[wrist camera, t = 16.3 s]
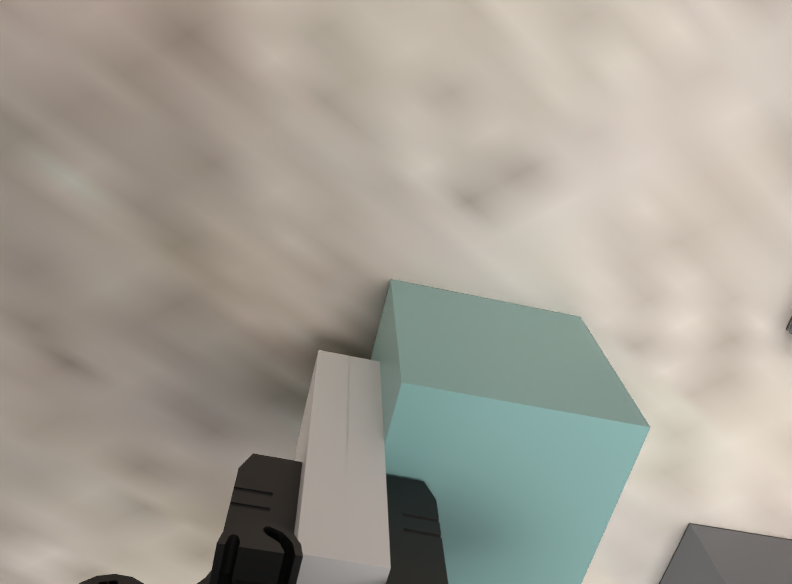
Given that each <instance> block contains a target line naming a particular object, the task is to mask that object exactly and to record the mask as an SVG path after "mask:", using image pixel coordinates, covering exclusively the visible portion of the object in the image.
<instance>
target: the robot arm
mask: <svg viewBox="0 0 792 584" xmlns="http://www.w3.org/2000/svg"><path fill="white" fill-rule="evenodd" d="M79 584H144V583H142V582H140V581H138V580H136V579H135V578H133V577H129V576H124V575H118V574H110V575H101V576H96V577H93V578H91V579H88V580H86V581H83V582H81V583H79ZM197 584H448V578H447V571H446V564H445V557H444V550H443V543H442V538H441V529H440V522H439V515H438V508H437V501H436V499H435V497H434V496H433V494H432V493H431V491H430V490H429V488H428V487H427V485H426V484H425V482H424V481H418V480H413V479H407V478H401V477H395V476H390V475H386V466H385V447H384V427H383V409H382V392H381V375H380V362H379V361H373V360H368V359H363V358H358V357H353V356H348V355H343V354H337V353H332V352H327V351H322V350H318V354H317V358H316V363H315V367H314V371H313V376H312V380H311V384H310V389H309V393H308V398H307V402H306V406H305V411H304V415H303V419H302V424H301V428H300V432H299V437H298V441H297V446H296V453H295V461H293V460H287V459H281V458H276V457H270V456H264V455H258V454H252V455H251V456H250V457H249V458H248V459H247V460H246V461H245V462H244V463H243V464H242V465H241V466H240V467H239V469H238V473H237V478H236V482H235V486H234V490H233V494H232V498H231V502H230V506H229V510H228V514H227V518H226V523H225V527H224V531H223V533H222V535H221V537H220V538H219V540H218V542H217V545H216V550H215V556H214V561H213V566H212V570H211V572H210V573H209V574H208V575H207V576H206V578H204V579H203V580H201V581H200V582H199V583H197Z"/></svg>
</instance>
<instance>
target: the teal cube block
mask: <svg viewBox="0 0 792 584" xmlns="http://www.w3.org/2000/svg"><path fill="white" fill-rule="evenodd" d="M371 360H373V361H379V362H380V375H381V392H382V409H383V427H384V447H385V466H386V475H390V476H395V477H401V478H407V479H413V480H418V481H424V482H425V484H426V485H427V487H428V488H429V490H430V491H431V493H432V494H433V496H434V497H435V499H436V501H437V508H438V515H439V522H440V529H441V538H442V543H443V550H444V557H445V564H446V571H447V578H448V584H581V583H582V581H583V578H584V576H585V574H586V572H587V569H588V567H589V565H590V563H591V560H592V558H593V556H594V554H595V551H596V549H597V547H598V545H599V542H600V540H601V538H602V536H603V533H604V531H605V529H606V526H607V524H608V522H609V520H610V517H611V515H612V513H613V511H614V508H615V506H616V504H617V502H618V499H619V497H620V495H621V493H622V490H623V488H624V486H625V484H626V481H627V479H628V477H629V474H630V472H631V470H632V468H633V465H634V463H635V461H636V459H637V456H638V454H639V452H640V450H641V447H642V445H643V443H644V441H645V438H646V436H647V434H648V432H649V429H650V426H649V424H648V423H647V421H646V420H645V418H644V417H643V415H642V413H641V412H640V410H639V409H638V407H637V406H636V404H635V402H634V401H633V399H632V398H631V396H630V394H629V393H628V391H627V390H626V388H625V387H624V385H623V383H622V382H621V380H620V379H619V377H618V375H617V374H616V372H615V371H614V369H613V368H612V366H611V364H610V363H609V361H608V360H607V358H606V357H605V355H604V353H603V352H602V350H601V349H600V347H599V345H598V344H597V342H596V341H595V339H594V338H593V336H592V334H591V333H590V331H589V330H588V328H587V326H586V325H585V323H584V322H583V320H582V319H581V317H578V316H573V315H568V314H563V313H558V312H553V311H548V310H543V309H538V308H533V307H528V306H523V305H518V304H513V303H508V302H503V301H498V300H493V299H488V298H483V297H478V296H473V295H468V294H463V293H458V292H453V291H448V290H443V289H438V288H433V287H428V286H423V285H418V284H413V283H407V282H402V281H397V280H392V279H391V281H390V285H389V289H388V293H387V297H386V301H385V305H384V308H383V312H382V316H381V320H380V324H379V328H378V332H377V336H376V340H375V344H374V348H373V352H372V356H371Z"/></svg>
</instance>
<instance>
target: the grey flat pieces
mask: <svg viewBox="0 0 792 584" xmlns="http://www.w3.org/2000/svg"><path fill="white" fill-rule="evenodd" d="M787 330H788V331H789V332H790V333H791V334H792V319H791V321H790V323H789V325H788V327H787ZM660 584H792V540H787V539H781V538H775V537H769V536H763V535H756V534H750V533H744V532H738V531H732V530H725V529H719V528H713V527H707V526H701V525H694V524H689V526H688V528H687V530H686V532H685V534H684V536H683V538H682V540H681V542H680V544H679V546H678V548H677V550H676V552H675V554H674V556H673V558H672V560H671V562H670V564H669V566H668V568H667V570H666V572H665V574H664V576H663V578H662V580H661V582H660Z"/></svg>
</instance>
